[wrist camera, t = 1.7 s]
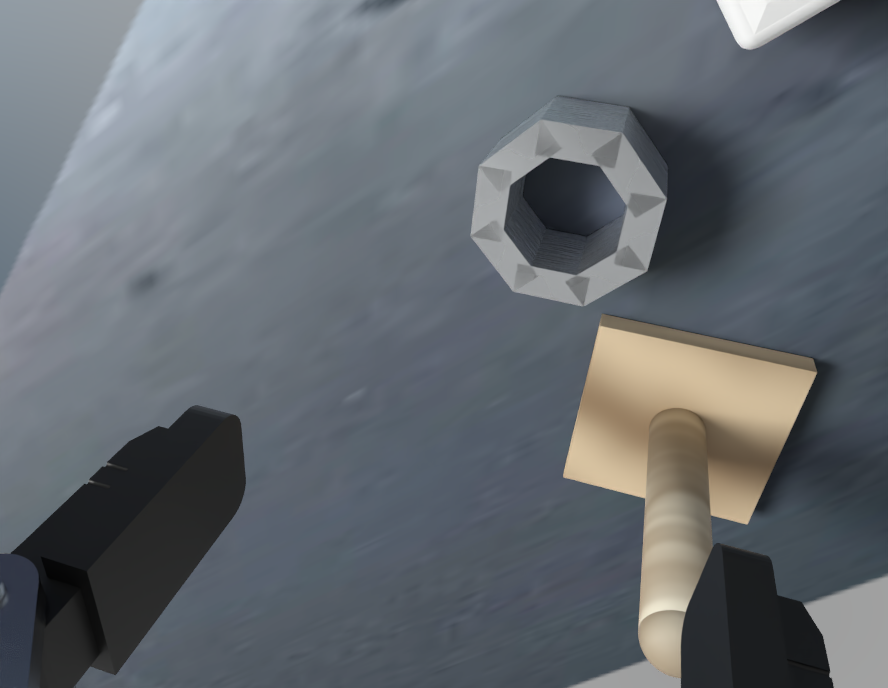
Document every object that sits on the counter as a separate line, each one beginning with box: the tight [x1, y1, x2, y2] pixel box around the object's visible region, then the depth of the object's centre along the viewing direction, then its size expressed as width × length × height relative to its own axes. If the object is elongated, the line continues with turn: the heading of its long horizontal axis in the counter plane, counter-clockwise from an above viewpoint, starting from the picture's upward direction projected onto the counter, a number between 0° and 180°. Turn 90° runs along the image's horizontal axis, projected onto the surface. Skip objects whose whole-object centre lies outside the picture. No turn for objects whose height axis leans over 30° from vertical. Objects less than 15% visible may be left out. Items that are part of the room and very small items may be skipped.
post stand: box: [563, 314, 817, 678], centre depth 24 cm, size 8×8×12 cm
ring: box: [471, 96, 668, 306], centre depth 24 cm, size 6×6×4 cm
